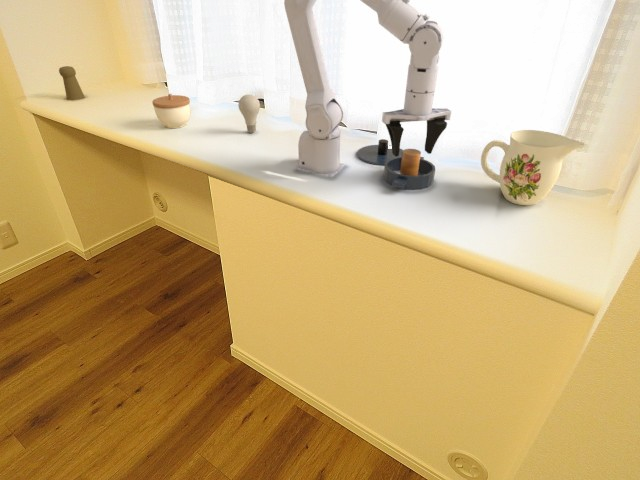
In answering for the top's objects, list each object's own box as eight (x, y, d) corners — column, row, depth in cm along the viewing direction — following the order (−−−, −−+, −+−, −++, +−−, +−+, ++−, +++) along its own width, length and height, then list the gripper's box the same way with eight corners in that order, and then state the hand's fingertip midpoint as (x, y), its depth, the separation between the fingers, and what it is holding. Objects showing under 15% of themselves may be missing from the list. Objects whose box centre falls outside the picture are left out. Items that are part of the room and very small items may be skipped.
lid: (349, 161, 103) (350, 144, 100) (367, 145, 112) (368, 129, 110) (398, 171, 98) (400, 153, 95) (412, 153, 108) (415, 137, 105)
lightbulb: (248, 137, 117) (244, 98, 111) (237, 132, 121) (233, 94, 115) (266, 133, 120) (263, 95, 114) (255, 127, 124) (251, 90, 118)
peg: (397, 180, 93) (400, 153, 89) (402, 174, 96) (405, 147, 92) (414, 184, 91) (418, 156, 87) (418, 177, 94) (423, 150, 90)
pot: (372, 190, 90) (373, 175, 87) (395, 163, 102) (397, 149, 100) (422, 201, 85) (424, 185, 83) (440, 172, 98) (442, 157, 96)
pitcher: (483, 176, 96) (498, 118, 88) (567, 199, 86) (591, 137, 78) (465, 193, 88) (479, 132, 81) (554, 220, 79) (579, 153, 71)
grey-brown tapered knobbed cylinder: (88, 97, 153) (78, 66, 147) (72, 100, 149) (62, 69, 143) (78, 95, 156) (69, 64, 150) (63, 98, 151) (52, 67, 145)
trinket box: (157, 132, 121) (150, 100, 115) (157, 121, 129) (151, 91, 124) (194, 128, 123) (189, 97, 118) (192, 118, 132) (187, 88, 127)
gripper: (393, 96, 78) (386, 162, 85) (462, 92, 80) (450, 157, 88) (381, 87, 84) (376, 150, 91) (446, 84, 86) (436, 146, 94)
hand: (411, 153), depth 90 cm, fingers open, 7 cm apart
